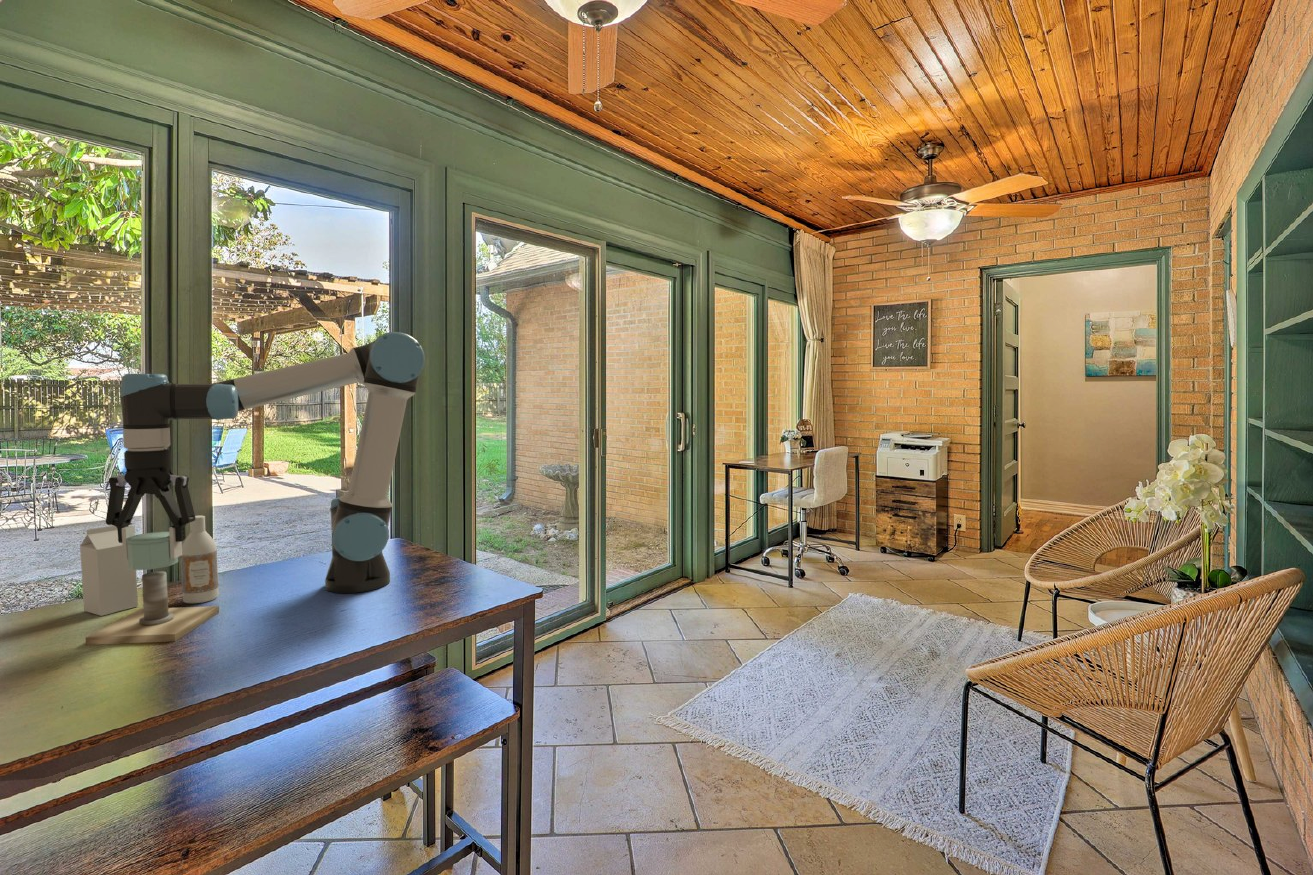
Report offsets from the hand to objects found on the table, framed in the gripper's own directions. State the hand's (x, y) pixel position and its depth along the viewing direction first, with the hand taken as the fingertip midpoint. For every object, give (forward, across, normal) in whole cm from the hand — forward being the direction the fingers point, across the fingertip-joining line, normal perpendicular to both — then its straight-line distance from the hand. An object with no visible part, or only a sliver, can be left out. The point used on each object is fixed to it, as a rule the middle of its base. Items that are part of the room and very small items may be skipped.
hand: (153, 557), depth 131 cm
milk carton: (+15, +17, -13) cm, 26 cm away
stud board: (+15, 0, 0) cm, 15 cm away
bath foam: (+15, +1, -18) cm, 24 cm away
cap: (+2, 0, 0) cm, 2 cm away
